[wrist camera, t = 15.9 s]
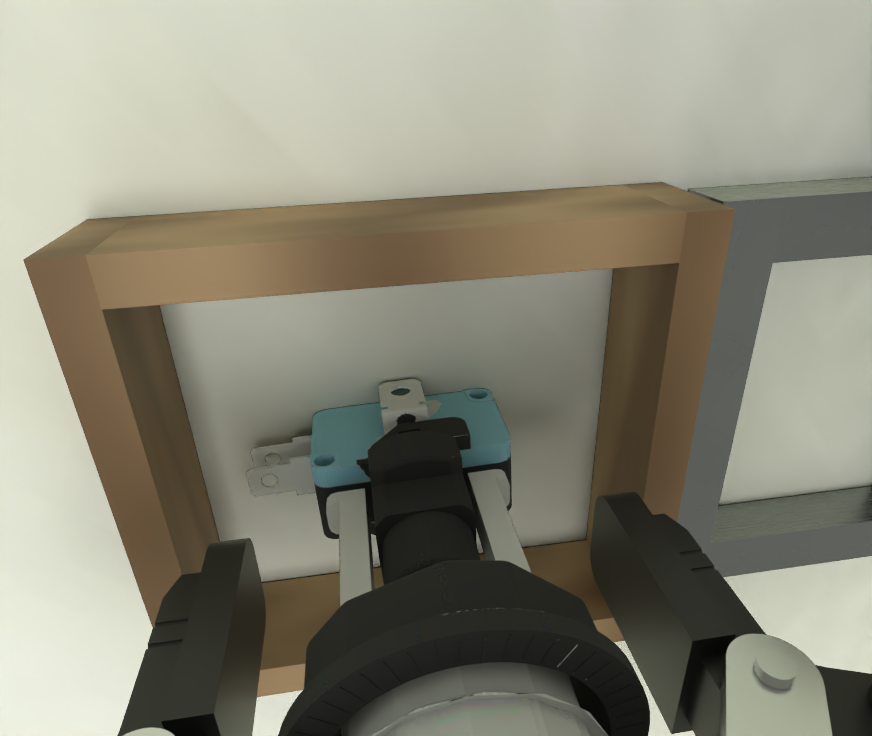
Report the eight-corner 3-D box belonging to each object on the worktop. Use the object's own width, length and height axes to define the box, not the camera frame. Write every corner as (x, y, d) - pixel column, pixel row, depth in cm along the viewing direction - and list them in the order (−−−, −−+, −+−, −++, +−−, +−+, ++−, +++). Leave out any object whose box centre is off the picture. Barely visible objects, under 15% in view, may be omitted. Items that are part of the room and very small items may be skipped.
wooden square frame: (662, 182, 15) (734, 209, 12) (613, 559, 20) (655, 635, 17) (87, 219, 13) (23, 260, 10) (203, 615, 18) (181, 708, 16)
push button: (274, 523, 17) (210, 1003, 9) (232, 356, 15) (83, 785, 6) (502, 489, 18) (662, 903, 9) (498, 323, 16) (712, 668, 7)
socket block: (1037, 165, 16) (1102, 175, 14) (898, 515, 21) (936, 546, 20) (688, 189, 15) (723, 201, 13) (634, 552, 20) (655, 587, 19)
